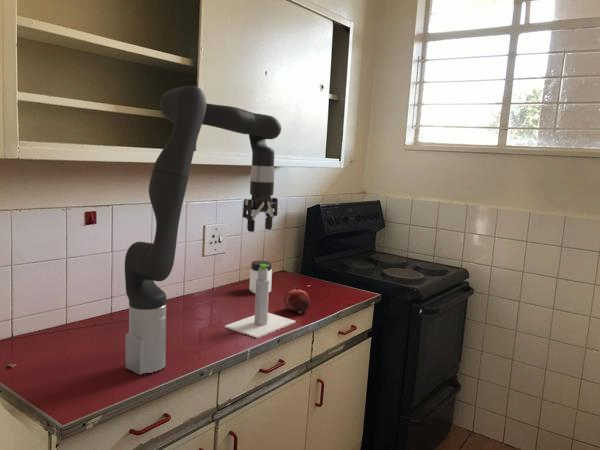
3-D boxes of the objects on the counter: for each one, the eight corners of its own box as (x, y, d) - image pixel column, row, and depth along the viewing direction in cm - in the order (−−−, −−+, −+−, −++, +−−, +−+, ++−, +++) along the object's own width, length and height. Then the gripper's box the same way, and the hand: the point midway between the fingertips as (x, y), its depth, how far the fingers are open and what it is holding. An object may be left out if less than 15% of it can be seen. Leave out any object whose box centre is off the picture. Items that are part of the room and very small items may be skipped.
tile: (257, 338, 156) (257, 336, 156) (224, 327, 164) (224, 325, 164) (295, 322, 172) (295, 320, 172) (264, 313, 180) (264, 311, 180)
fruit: (304, 317, 178) (306, 289, 177) (279, 312, 181) (281, 286, 180) (312, 309, 187) (314, 283, 185) (288, 305, 190) (290, 280, 188)
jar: (274, 293, 205) (275, 264, 203) (255, 295, 201) (256, 265, 199) (264, 287, 213) (265, 259, 211) (246, 289, 209) (247, 261, 207)
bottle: (263, 326, 165) (266, 267, 162) (252, 324, 167) (254, 265, 163) (269, 322, 169) (272, 264, 166) (257, 320, 171) (260, 262, 168)
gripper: (256, 181, 152) (253, 234, 154) (285, 181, 164) (282, 230, 166) (238, 179, 157) (236, 230, 159) (267, 179, 168) (265, 227, 170)
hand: (259, 230), depth 162 cm, fingers open, 8 cm apart
